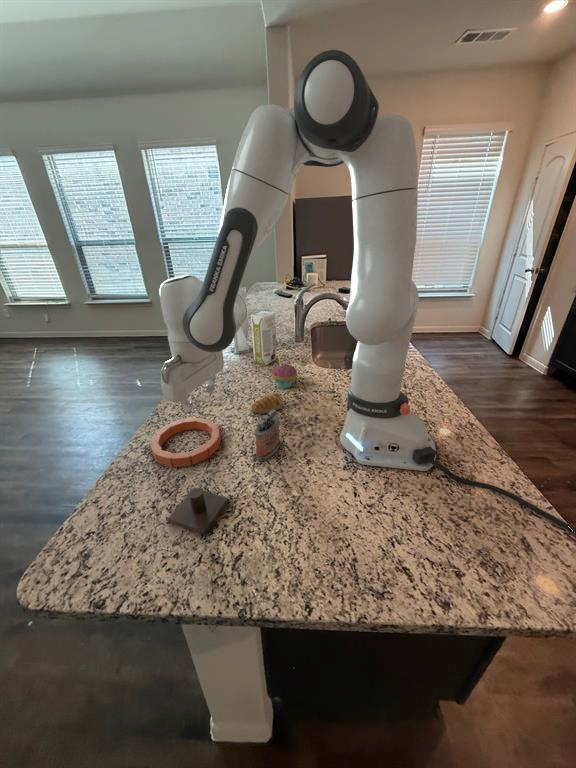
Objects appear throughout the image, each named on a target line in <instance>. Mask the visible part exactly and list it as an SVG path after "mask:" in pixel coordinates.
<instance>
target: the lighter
mask: <svg viewBox="0 0 576 768" xmlns="http://www.w3.org/2000/svg"><path fill="white" fill-rule="evenodd" d="M280 421H281V419H280V417H278V416H277V410H276V411H275V410H272V411H270V412H269V413H266V414H262V416H261V417H260V419H259V420H258V421H257V426H256V428H254V430H253V435H254V437H255V448H256V453H255V457H256V460H257V461H260V462H261V461H262V462H264V461H266V460H267V459H269V458H270V457H272V456H273V455H274V454H275V453H276V452H277V451H278V450H279V448H280V446H281V440H280Z"/></svg>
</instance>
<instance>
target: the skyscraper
mask: <svg viewBox="0 0 576 768" xmlns="http://www.w3.org/2000/svg"><path fill="white" fill-rule="evenodd" d="M238 295H240V296H241V298H242V299H243V300H244V302H245V301H246V295H247V286H242V287H241V286H240V289H239V292H238ZM245 305H246V309H247V310H248V308H247V304H246V302H245ZM249 320H250V319H249V311H247V315H246V318H245V321H244V322H243V324H242V325H241V327H240V329H239V330H238V331H237V333H236V334H235V336H234V338H233V341H234V343H233V346H234V347H231V348H230V349H231V351H232V352H233V353H234V354H235V355H239V354H245V353H246V354H247V353H251V352H253V351H252V349H251V347H250V345H249V343H248V339H249V328H250V324H249V323H250V322H249Z"/></svg>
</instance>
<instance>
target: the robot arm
mask: <svg viewBox="0 0 576 768" xmlns="http://www.w3.org/2000/svg"><path fill="white" fill-rule="evenodd" d="M379 106H380V105H379V102H378V99H377V97H376V96H375V94H374V92H373V91H372V88H371V87H370V85H369V84H368V81H367V79H366V77H365V74H364V73H363V71H362V69H361V67H360V66H359V65H358V63H357V62H356V61H355V59H354V58H353V57H352V56H351V55H349V53H346V52H344V51H342V50H338V49H329V50H324V51H322V52H320V53H318V54H316V55H315V56H314V57H313V58H312V59H311V60H310V61H308V63H307V64H306V65H305V67H303V70H302V72H301V74H300V76H299V79H298V81H297V84H296V87H295V92H294V100H293V107H290V108H285V107H283V106H281V105H277V104H273V103H269V104H268V103H265V104H261V105H259V106H258V107H256V108H255V109H254V110H253V112H252V113H251V115H250V117H249V119H248V121H247V123H246V126H245V129H244V130H243V133H242V135H241V138H240V140H239V144H238V147H237V149H236V153H235V156H234V159H233V163H232V167H231V170H230V174H229V178H228V183H227V188H226V192H225V198H224V203H223V210H222V215H221V218H220V225H219V229H218V233H217V237H216V240H215V243H214V247H213V250H212V252H211V253H212V254H211V256H210V260H209V263H208V267H207V270H206V273H205V276H204V278H203V279H204V280H203V281H202V280H201V279H199V278H198V277H196V275H193V274H184V275H179V276H175V277H172V278H168V279H166V280H164V281H163V282H162V283H161V284H160V287H159V301H160V308H161V309H160V310H161V313H162V314H161V315H162V319H163V323H164V324H165V326H166V329H167V341H168V345H169V349H170V355H171V359H169V360H167V361H165V362H164V363H163V366H162V367H161V369H160V386H161V392H162V397H163V399H164V400H165V401H167V402H172V403H180V404H182V407H183V410H184V411H187V412H190V411H191V410H192V409H194V404H193V401H189V400H188V399H189V395H190V394H191V393H193V392H194V391H196V390H197V389H198V388H200V387H201V386H202V385H204V384H205V383H206V385H205V392H206V393H210V394H212V393H213V392H214V391H215V390H216V388H215V383H216V379H217V374H219V373H220V372H221V371H222V370H223V369H224V365H225V360H224V353H223V351H224V350H226V349H227V348H228V347H229V346H231V344H232V343H233V341H234V336H235V334H236V333H237V331H238V330H239V329H240V327H241V325H242V324H243V322H244V321H245V318H246V315H247V312H248V308H247V309H246V307H247V304H246V302H244V300H243V299H242V298H241V296H240V295H238V292H239V289H240V287H241V285H242V282H243V280H244V278H245V277H244V276H245V273H246V271H247V268H248V265H249V263H250V261H251V259H252V257H253V255H254V254H255V252H256V251H257V250H258V248H259V247H260V246H261V244H262V243H263V242H264V241H265V240H266V239H267V238H268V237H269V236H270V235H271V234H272V233H273V231H274V230H275V228H276V227H277V225H278V223H279V221H280V219H281V217H282V215H283V213H284V211H285V208H286V206H287V203H288V200H289V197H290V194H291V191H292V187H293V185H294V181H295V179H296V176H297V174H298V172H299V170H300V168H301V167H302V166H307V167H309V166H310V167H322V168H332V167H333V168H334V167H336V166H341V165H342V164H345V165H346V167H347V169H348V172H349V176H350V182H351V206H352V207H351V209H352V229H353V259H352V267H351V275H350V276H351V277H350V289H349V299H348V300H349V301H348V305H347V309H346V314H345V325H346V328H347V330H348V332H349V334H350V335H351V337H352V338H353V339H355V340H356V341H357V343H356V347H355V350H354V353H353V356H352V365H351V374H350V375H351V376H350V385H349V388H348V391H347V395H346V415H345V416H346V417H345V421H344V424H343V426H342V429H341V431H340V433H339V441H340V444H341V446H342V447H343V448H344V449H345V450H346V451H347V452H349V453H350V454H351V455H352V456H353V457H354V459H355V460H356V461H357V463H358V464H360V465H363V466H371V467H381V468H390V469H391V468H392V469H400V470H401V469H402V470H410V471H412V470H413V471H419V472H428V471H429V470H431V469H432V468H433V466H434V467H436V468H437V469H438V470H440V471H441V472H443V473H444V474H446V476H448V477H449V478H451V479H453V480H454V481H457V482H459V483H462V484H464V485H465V484H466V485H468V486H469V485H470V486H473V487H479V488H483V489H488V490H490V491H494V492H496V493H499V494H501V495H504V496H506V497H508V498H509V499H512V500H513V501H515V502H517V503H519V504H521V505H523V506H524V507H526V508H528V509H530V510H531V511H532V512H535V513H536V514H538V515H540V516H541V517H543V518H546V519H547V520H549V521H551V522H553V523H555V524H556V525H558V526H560V527H561V528H563V529H565V530H567V531H568V532H570V533H572V534H573V535H576V527H574V526H572V525H570V524H569V523H567V522H565V521H564V520H562V519H560V518H558V517H556V516H555V515H552V514H550V513H549V512H547V511H545V510H543V509H541V508H539V507H537V506H535V505H534V504H532V503H530V502H529V501H526V500H525V499H523V498H522V497H519V496H518V495H516V494H514V493H512V492H510V491H508V490H506V489H504V488H501V487H498V486H496V485H493V484H489V483H485V482H481V481H476V480H471V479H467V478H464V477H461V476H458V475H456V474H454V473H453V472H452V471H450V470H449V469H448V468H446V467H445V466H443V465H442V464H441V463H439V462H437V460H436V456H437V449H436V444H435V442H434V440H433V437H431V436H430V434H429V433H428V429H427V426H426V423H425V421H424V420H423V419H422V418H421V417H420V416H419V415H418V414H416V413H415V412H413V410H411V406H410V404H409V396H408V392H407V391H405V394H404V392H402V391H401V390H402V384H403V380H404V379H403V378H404V372H405V366H406V361H407V358H408V353H409V348H410V344H411V340H412V336H413V332H414V327H415V322H416V317H417V312H418V307H419V301H420V294H419V290H418V287H417V285H416V284H415V282H414V281H413V280H412V279H413V269H414V261H415V260H414V259H415V254H416V253H415V251H416V245H417V236H418V201H419V200H418V195H419V172H418V171H419V170H418V169H419V167H418V156H417V155H418V154H417V147H416V139H415V132H414V128H413V125H412V123H411V122H410V121H409V119H408V118H406V117H404V116H402V115H400V114H394V113H393V114H392V113H389V114H382V115H379V109H380V107H379ZM245 304H246V305H245ZM566 523H567V524H566ZM568 526H569V527H570V528H571V529H572V530H573V532H572V530H571V529H570V528H569V527H568ZM574 532H575V533H574Z"/></svg>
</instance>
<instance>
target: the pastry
mask: <svg viewBox="0 0 576 768" xmlns="http://www.w3.org/2000/svg"><path fill="white" fill-rule="evenodd" d="M284 406H285V402H284V399H283V398H282V395H281V394H280V393H278V392H277V391H276V392H275V391H273V392H271V393H268V394H264V395H262V396H261V397H260V398H258V399H257V400H256V401H254V403H252V405H251V411H252V412H253V413H256V414H259V415H261V414H262V415H265V414H268V413H269V412H270V411H272V410H275V411H276V412H277V410H281V409H282V408H283V407H284Z"/></svg>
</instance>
